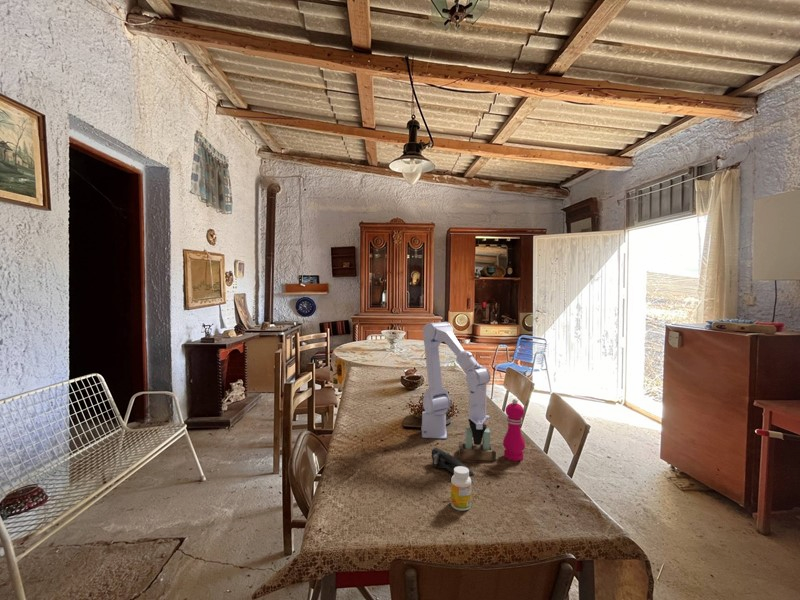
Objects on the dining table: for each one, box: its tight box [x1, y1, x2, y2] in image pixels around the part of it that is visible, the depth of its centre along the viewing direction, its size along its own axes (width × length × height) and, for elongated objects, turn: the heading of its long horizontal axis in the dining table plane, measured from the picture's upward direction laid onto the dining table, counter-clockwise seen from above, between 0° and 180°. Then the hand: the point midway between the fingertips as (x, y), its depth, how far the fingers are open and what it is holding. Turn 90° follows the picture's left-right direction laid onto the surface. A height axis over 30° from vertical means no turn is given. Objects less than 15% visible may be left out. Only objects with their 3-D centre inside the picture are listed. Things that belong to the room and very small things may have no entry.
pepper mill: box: [502, 398, 526, 462], centre depth 128 cm, size 7×7×20 cm
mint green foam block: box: [464, 427, 491, 450], centre depth 129 cm, size 8×3×7 cm, turn 84°
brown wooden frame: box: [458, 441, 497, 462], centre depth 129 cm, size 12×6×3 cm, turn 84°
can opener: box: [431, 447, 475, 484], centre depth 118 cm, size 18×7×6 cm, turn 33°
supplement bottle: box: [450, 466, 473, 512], centre depth 100 cm, size 5×5×10 cm
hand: (476, 442), depth 129 cm, fingers closed on mint green foam block, 3 cm apart
